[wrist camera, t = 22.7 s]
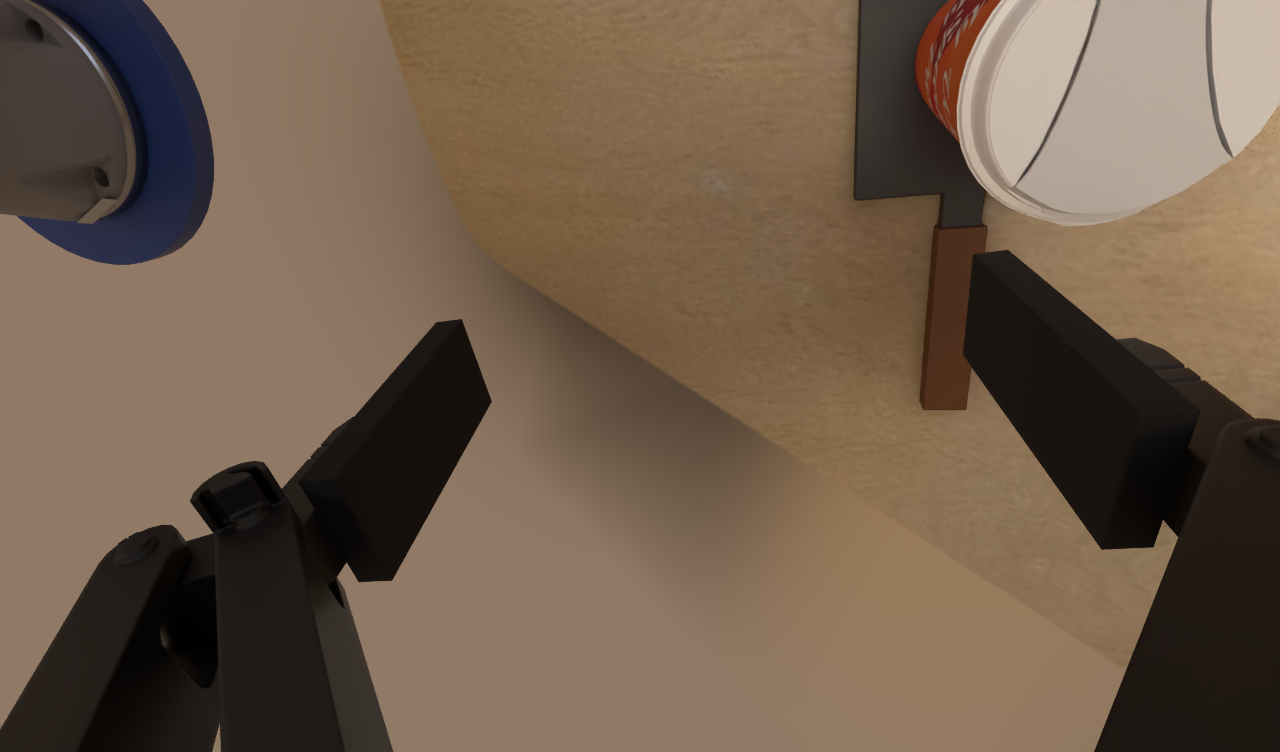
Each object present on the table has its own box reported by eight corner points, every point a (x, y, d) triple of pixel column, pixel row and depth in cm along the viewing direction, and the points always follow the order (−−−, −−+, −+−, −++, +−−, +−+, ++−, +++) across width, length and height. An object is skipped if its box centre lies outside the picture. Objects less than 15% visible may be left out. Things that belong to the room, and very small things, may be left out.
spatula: (847, 401, 39) (849, 410, 38) (861, -83, 29) (864, -89, 28) (1039, 401, 36) (1047, 410, 35) (1131, -133, 26) (1145, -143, 25)
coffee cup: (890, -28, 28) (980, -58, 16) (1095, -73, 26) (1393, -151, 13) (888, 158, 32) (959, 254, 20) (1066, 132, 30) (1274, 221, 17)
